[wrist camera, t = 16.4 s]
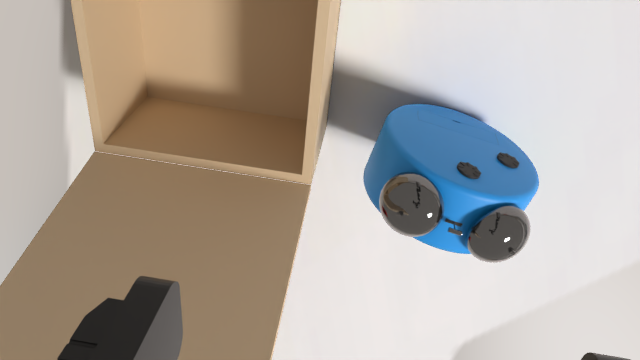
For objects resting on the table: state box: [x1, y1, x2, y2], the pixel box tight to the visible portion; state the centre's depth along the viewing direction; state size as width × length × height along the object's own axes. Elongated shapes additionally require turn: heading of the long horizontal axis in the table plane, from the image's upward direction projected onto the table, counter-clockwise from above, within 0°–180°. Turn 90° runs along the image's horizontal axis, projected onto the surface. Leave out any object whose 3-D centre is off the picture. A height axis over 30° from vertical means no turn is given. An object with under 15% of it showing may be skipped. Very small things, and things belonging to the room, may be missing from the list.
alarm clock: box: [364, 104, 539, 262], centre depth 44 cm, size 13×6×15 cm, turn 73°
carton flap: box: [0, 152, 311, 360], centre depth 35 cm, size 24×18×2 cm
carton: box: [71, 0, 341, 184], centre depth 43 cm, size 18×18×10 cm
